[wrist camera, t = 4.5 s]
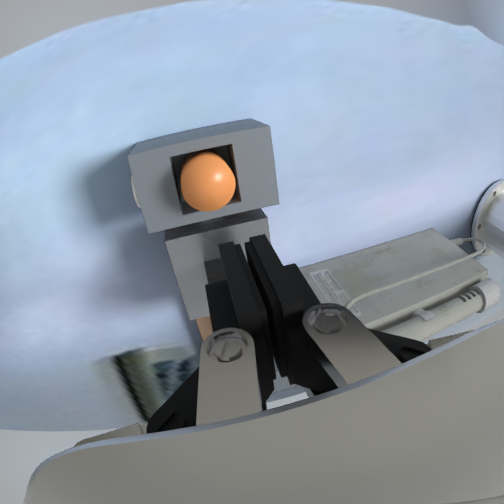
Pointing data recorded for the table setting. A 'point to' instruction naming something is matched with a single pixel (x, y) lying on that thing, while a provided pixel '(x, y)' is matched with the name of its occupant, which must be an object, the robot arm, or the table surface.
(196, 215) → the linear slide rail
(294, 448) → the robot arm
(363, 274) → the geiger counter
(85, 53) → the table surface
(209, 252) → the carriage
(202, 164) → the button
